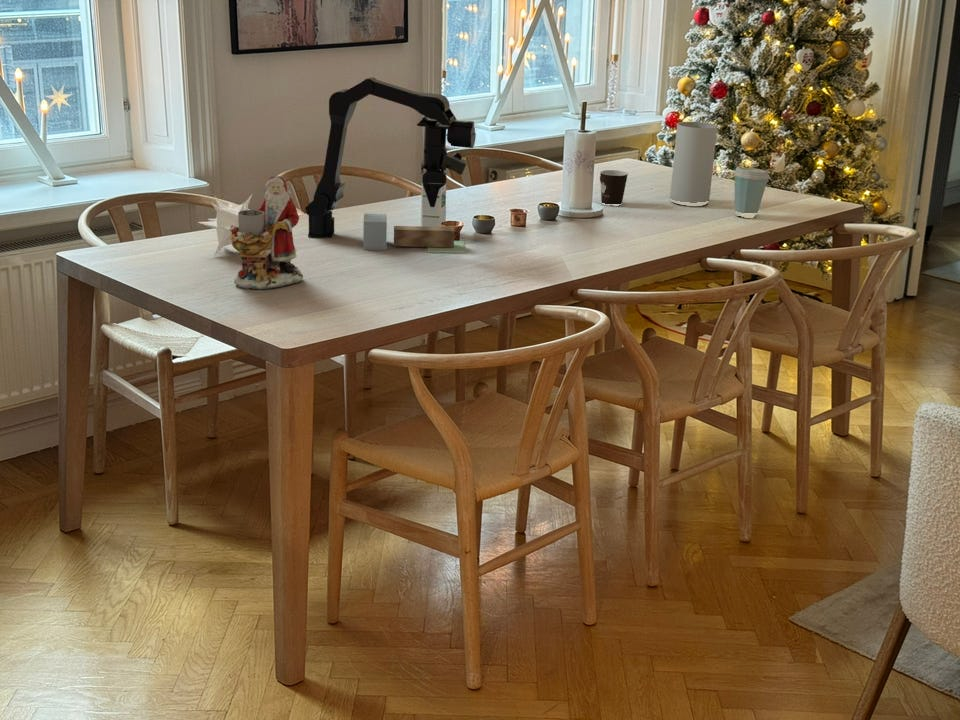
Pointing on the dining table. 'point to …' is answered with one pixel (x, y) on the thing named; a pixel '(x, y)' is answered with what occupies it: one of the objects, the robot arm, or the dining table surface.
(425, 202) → the syrup box
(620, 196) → the coffee mug
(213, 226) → the star ornament
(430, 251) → the green mat
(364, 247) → the upright grey block
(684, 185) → the cylinder vase
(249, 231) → the santa figurine
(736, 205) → the disposable coffee cup
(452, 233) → the walnut block
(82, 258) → the dining table surface
